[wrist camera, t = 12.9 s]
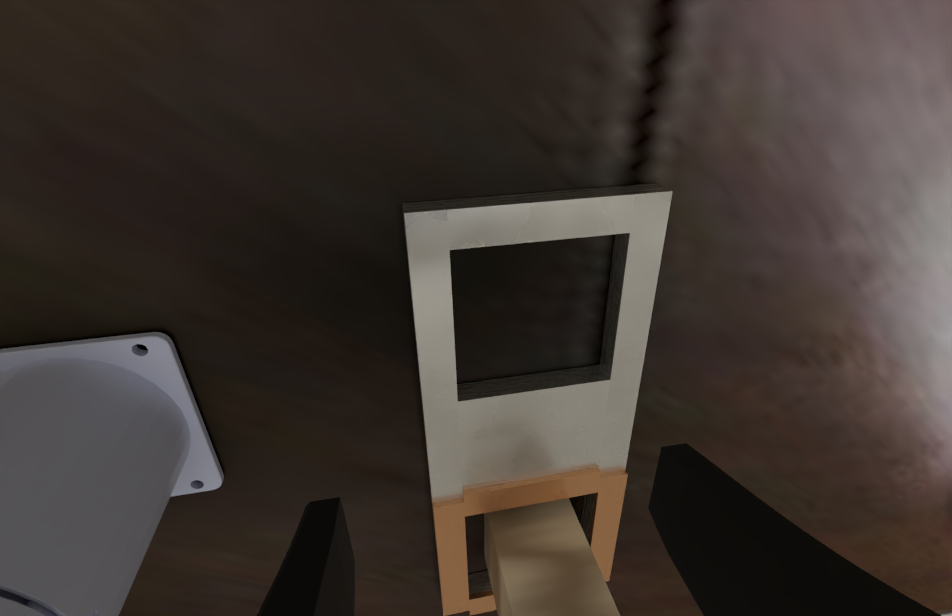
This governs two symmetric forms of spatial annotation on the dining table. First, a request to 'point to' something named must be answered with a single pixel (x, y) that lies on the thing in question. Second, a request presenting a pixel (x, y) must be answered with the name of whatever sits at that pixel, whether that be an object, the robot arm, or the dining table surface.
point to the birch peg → (543, 563)
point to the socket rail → (534, 395)
